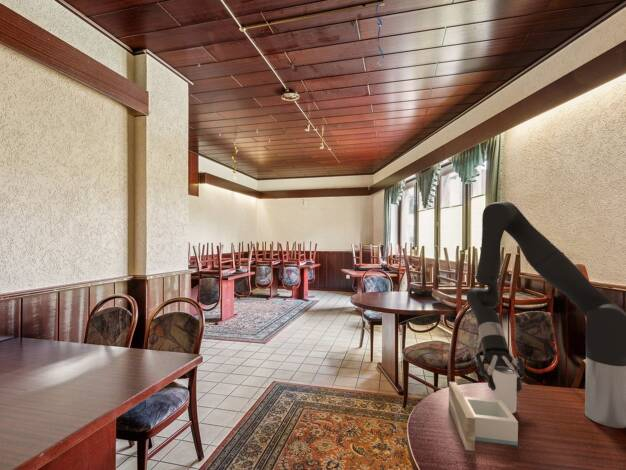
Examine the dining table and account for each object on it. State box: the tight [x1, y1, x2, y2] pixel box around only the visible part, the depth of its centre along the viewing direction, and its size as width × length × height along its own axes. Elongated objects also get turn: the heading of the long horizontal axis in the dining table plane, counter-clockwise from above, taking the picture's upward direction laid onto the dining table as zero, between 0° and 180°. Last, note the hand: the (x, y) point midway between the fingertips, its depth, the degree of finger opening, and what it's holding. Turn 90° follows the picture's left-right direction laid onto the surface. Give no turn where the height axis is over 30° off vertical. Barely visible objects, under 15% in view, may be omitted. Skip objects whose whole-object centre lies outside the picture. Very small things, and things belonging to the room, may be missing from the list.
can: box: [491, 366, 518, 415], centre depth 100 cm, size 6×6×12 cm
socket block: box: [464, 396, 519, 446], centre depth 89 cm, size 11×11×6 cm
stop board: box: [448, 381, 476, 452], centre depth 91 cm, size 2×20×8 cm, turn 169°
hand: (505, 390), depth 99 cm, fingers closed on can, 6 cm apart
